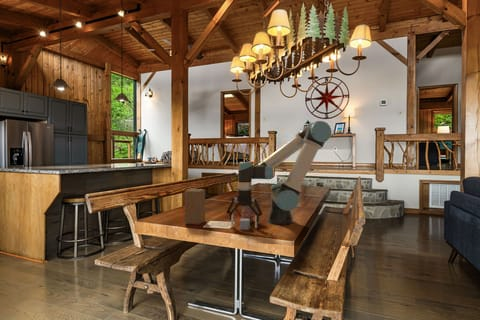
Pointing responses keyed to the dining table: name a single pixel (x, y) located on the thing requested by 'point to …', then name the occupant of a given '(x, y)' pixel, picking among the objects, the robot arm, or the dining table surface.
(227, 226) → the letter
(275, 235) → the dining table surface
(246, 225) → the cube
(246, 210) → the mug
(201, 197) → the wooden block
